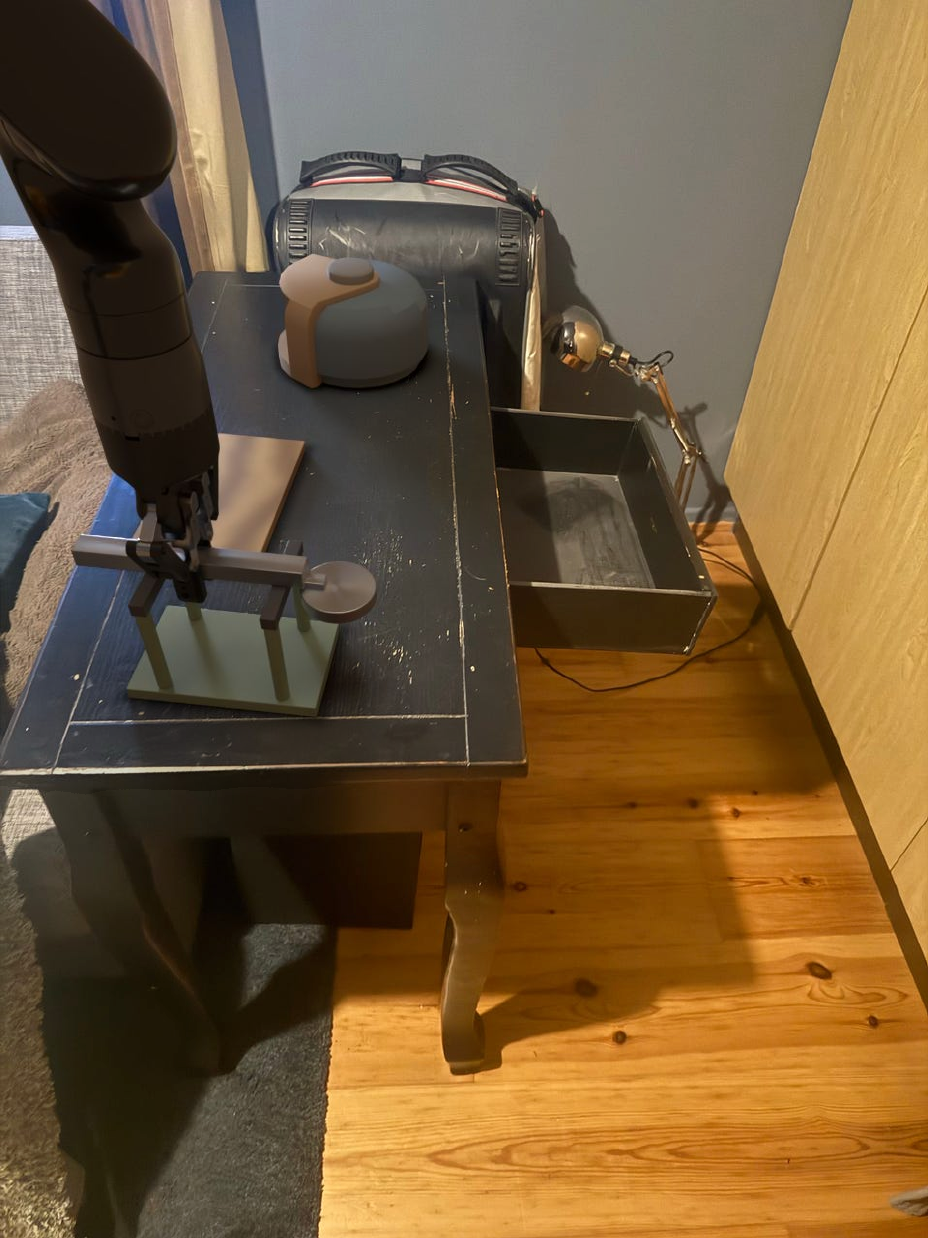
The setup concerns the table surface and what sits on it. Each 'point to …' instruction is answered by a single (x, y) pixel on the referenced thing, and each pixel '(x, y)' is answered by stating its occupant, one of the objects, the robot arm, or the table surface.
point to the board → (252, 489)
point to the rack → (233, 653)
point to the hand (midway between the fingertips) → (198, 587)
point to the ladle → (259, 575)
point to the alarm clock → (351, 322)
